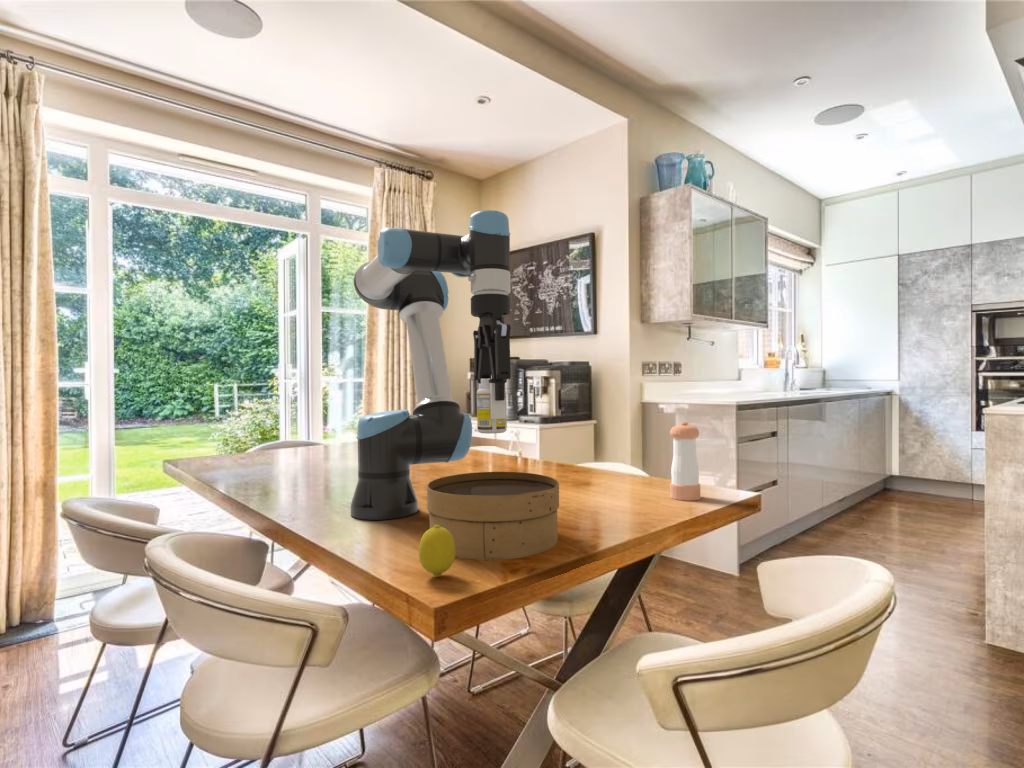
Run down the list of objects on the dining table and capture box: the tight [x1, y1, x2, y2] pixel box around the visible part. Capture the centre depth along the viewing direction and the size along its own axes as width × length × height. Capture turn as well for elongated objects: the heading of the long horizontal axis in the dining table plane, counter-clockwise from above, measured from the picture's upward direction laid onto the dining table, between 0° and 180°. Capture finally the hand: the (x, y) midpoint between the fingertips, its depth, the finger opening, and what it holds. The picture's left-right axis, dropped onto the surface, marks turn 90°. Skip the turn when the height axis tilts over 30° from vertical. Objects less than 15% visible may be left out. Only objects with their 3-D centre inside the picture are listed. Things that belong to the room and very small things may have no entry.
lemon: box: [418, 525, 456, 578], centre depth 83 cm, size 6×6×8 cm
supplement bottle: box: [476, 379, 508, 435], centre depth 103 cm, size 6×6×10 cm
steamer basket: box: [426, 471, 560, 561], centre depth 103 cm, size 25×25×11 cm
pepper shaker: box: [669, 421, 701, 501], centre depth 137 cm, size 7×7×19 cm
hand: (492, 417), depth 103 cm, fingers closed on supplement bottle, 5 cm apart
